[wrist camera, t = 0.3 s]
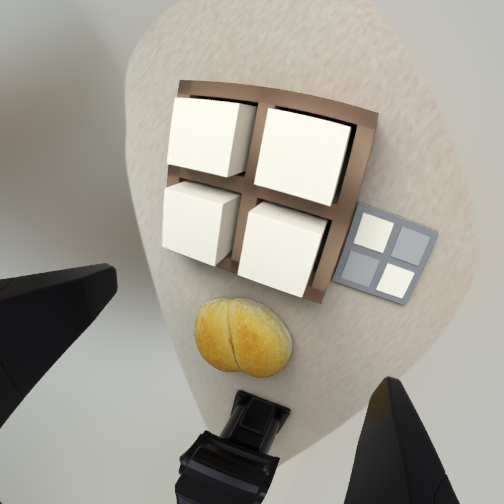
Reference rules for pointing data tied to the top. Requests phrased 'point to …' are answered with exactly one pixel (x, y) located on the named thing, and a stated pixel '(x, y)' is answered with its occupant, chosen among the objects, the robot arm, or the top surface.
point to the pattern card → (384, 253)
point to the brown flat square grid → (257, 194)
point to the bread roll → (242, 337)
